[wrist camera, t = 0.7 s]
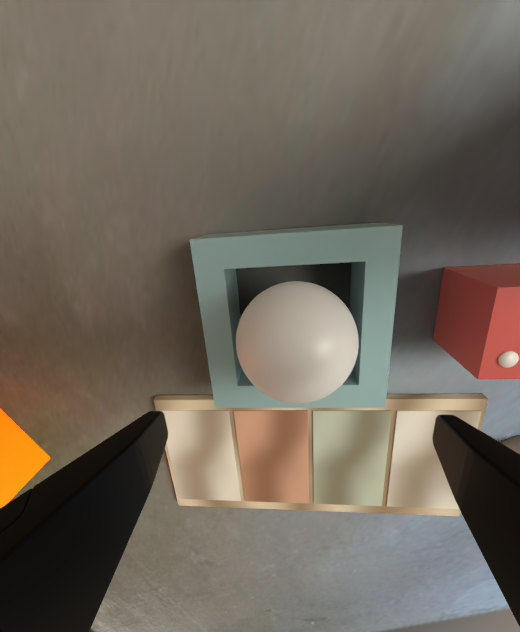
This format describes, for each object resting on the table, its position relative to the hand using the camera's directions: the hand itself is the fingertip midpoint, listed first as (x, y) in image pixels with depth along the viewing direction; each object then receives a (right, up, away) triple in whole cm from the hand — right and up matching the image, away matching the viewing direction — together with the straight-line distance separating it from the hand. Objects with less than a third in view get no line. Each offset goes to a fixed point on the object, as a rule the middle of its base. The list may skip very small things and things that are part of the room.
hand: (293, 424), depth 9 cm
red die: (+13, +4, +10) cm, 17 cm away
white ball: (+1, +3, +10) cm, 10 cm away
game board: (+3, -9, +16) cm, 18 cm away
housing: (+1, +4, +11) cm, 12 cm away
